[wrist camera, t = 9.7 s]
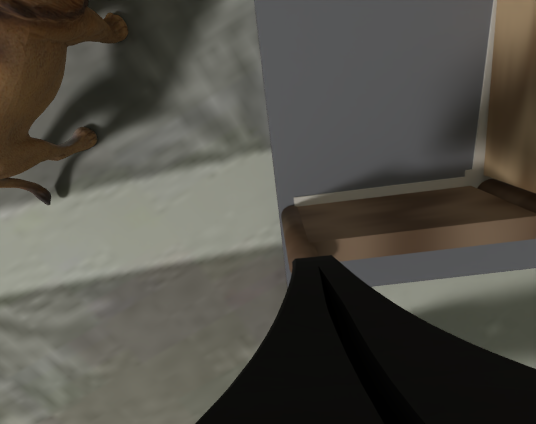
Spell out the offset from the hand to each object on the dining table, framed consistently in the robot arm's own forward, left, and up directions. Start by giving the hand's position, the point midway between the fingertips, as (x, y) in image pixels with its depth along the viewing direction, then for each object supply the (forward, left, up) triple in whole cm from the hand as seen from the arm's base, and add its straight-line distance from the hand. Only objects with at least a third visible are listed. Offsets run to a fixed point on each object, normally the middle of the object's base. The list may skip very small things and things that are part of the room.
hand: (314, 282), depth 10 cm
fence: (-1, -6, -9) cm, 11 cm away
